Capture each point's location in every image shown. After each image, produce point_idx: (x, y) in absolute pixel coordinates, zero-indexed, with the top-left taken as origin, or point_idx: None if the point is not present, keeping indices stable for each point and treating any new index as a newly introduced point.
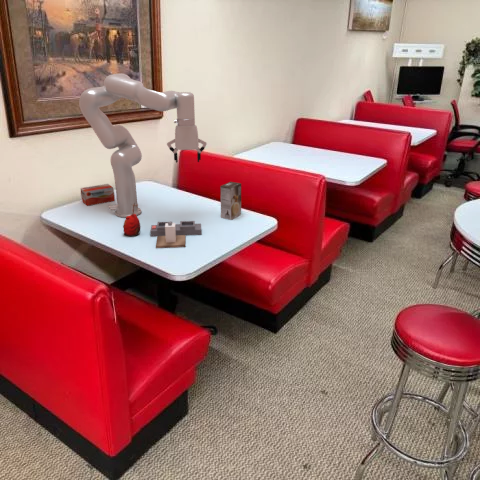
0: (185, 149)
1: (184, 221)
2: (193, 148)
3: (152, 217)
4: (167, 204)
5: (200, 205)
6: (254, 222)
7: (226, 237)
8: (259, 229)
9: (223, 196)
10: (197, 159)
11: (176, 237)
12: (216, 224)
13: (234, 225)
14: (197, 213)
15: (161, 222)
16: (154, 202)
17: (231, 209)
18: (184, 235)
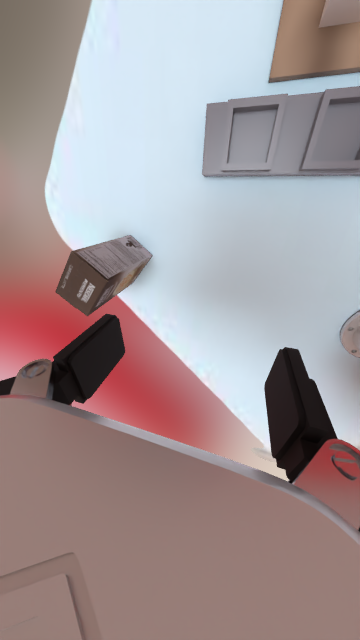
0: (163, 441)
1: (256, 165)
2: (26, 411)
3: (323, 288)
4: (259, 354)
5: (191, 332)
6: (81, 211)
7: (136, 79)
8: (63, 156)
9: (116, 263)
10: (118, 349)
11: (313, 40)
12: (163, 208)
13: (121, 194)
14: (202, 291)
15: (349, 160)
16: None
17: (114, 239)
18: (274, 73)
